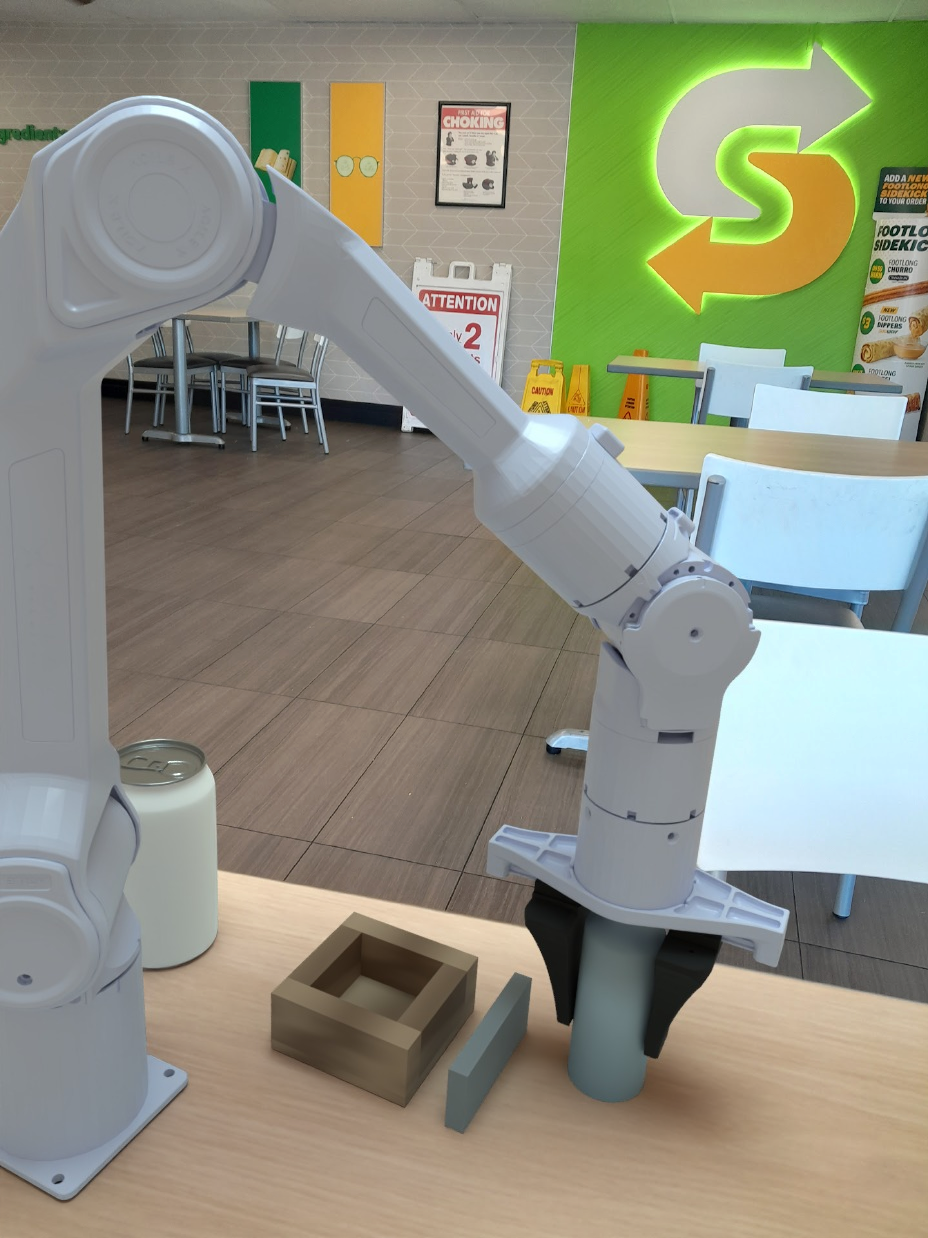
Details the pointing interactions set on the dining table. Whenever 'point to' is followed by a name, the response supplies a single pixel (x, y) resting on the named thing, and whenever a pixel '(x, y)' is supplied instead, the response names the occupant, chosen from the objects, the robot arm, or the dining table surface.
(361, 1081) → the frame
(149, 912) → the can
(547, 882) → the robot arm
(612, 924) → the dowel
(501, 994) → the backstop wall
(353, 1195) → the dining table surface
